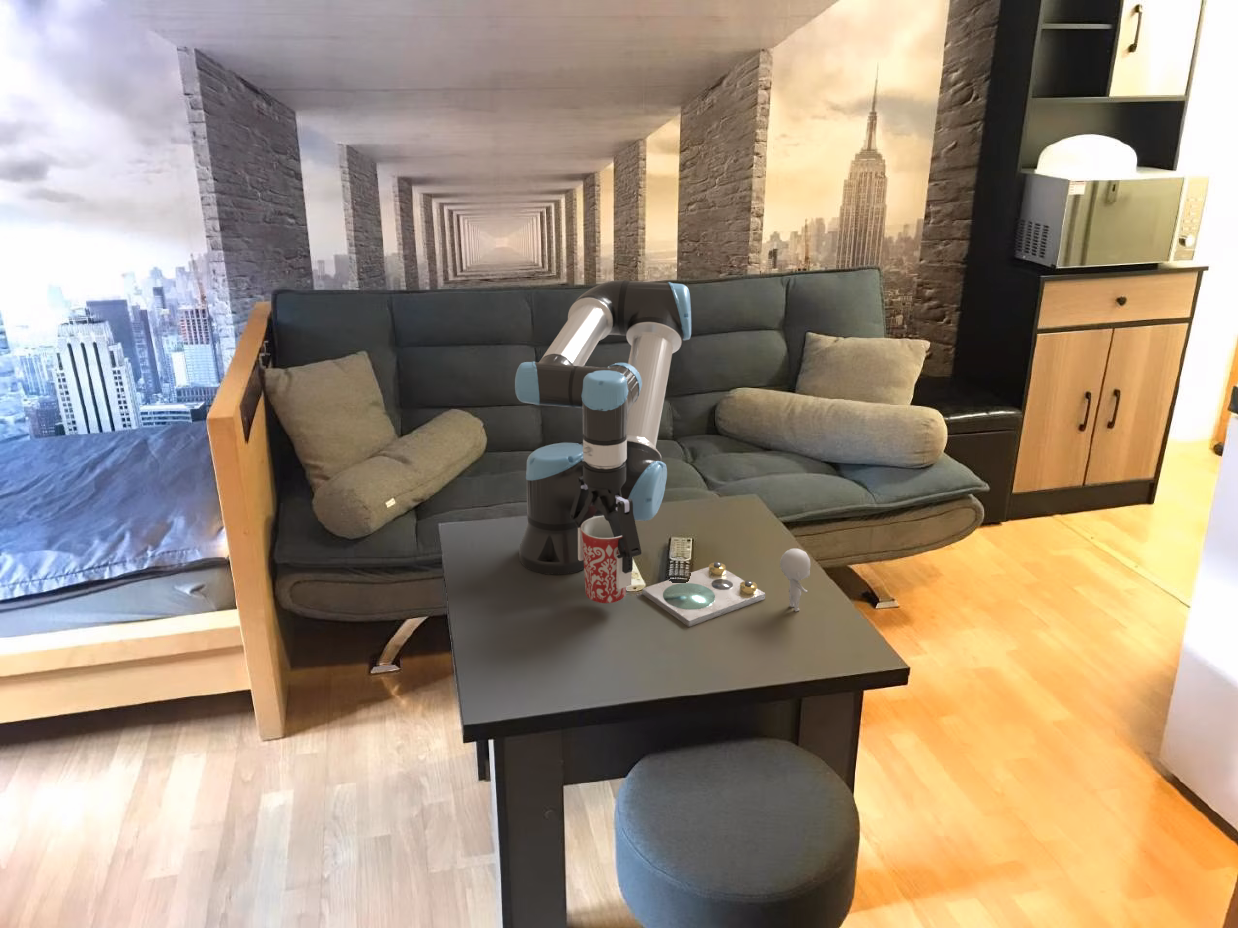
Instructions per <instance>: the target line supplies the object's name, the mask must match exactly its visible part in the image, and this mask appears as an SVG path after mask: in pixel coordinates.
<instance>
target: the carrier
mask: <svg viewBox="0 0 1238 928" xmlns="http://www.w3.org/2000/svg"><path fill="white" fill-rule="evenodd" d="M726 567H727V566H726V564H724V563H722V562H720V561H714V562H711V563H709V565H708V567H707V566H706V567H703V568H701V569H698V570H695V571H692V572H690V573H691V576H690V579H689V581H688V582H686V583H672V582H671V581H669V580H670V579H667V580H665V581H660V582H657V583H655V584H652V585H648V586H646V587H643V588H642V591H641V592H642V593H641V594H642V595H643V596H645V598H647V599H648V600H649V601H651V602H653V603H654V604H655V605H657V606H659V607H660V608H661V609H662V610H664V611H666V612H667V613H668V614H669V615H671V616H672V617H674V618H675V619H678V621H680V623H681V622H682V623H683V624H684V625H686V627H688V628H690V627H693V626H695V625H697V624H701V623H703V622H706V621H710V620H712V619H715V618H717V617H720V616H723V615H724V614H728V613H731V612H733V611H736V610H738V609H741V608H744V607H747V606H750V605H753V604H756V603H758V602H760V601H764V600H765V599H766V592H763V591H762V590H761V589H759V588H758V584H757V583H756V582H754V581H752V580H744V579H743V578H740V577H739V576H737V575H736V574H734V573H732V572H730V571H729V570H727V569H726Z"/></svg>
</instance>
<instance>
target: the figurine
mask: <svg viewBox="0 0 1238 928" xmlns="http://www.w3.org/2000/svg"><path fill="white" fill-rule="evenodd" d="M779 565H780V566H779V567H780V570H781V571H782V573H783V575H784V576H785V578H786V579H788V580H789V581H788V582H789V589H788V593H789V594H788V595H789V604H788V605H789V607H790V608H793V610H794V612H799V611H800V608H799V604H800V600H801V599H800V598H801V595H802V592H803V593H805V594H807V593H808V590H807V589H805V588H804V587H803V586H802V584H801V582H800V581H801V580H804V579H807V578H809V577H810V575H811V571H810V570H811V559H810V556H809V555H808V554H807V552H806V551H804V550H803V549H800V548H793V547H792V548H790V549H788V550H786V551H785V552H784V553H783V554H782V555H781V558H780V561H779Z"/></svg>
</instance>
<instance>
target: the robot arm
mask: <svg viewBox="0 0 1238 928" xmlns="http://www.w3.org/2000/svg"><path fill="white" fill-rule="evenodd" d="M609 335H611V336H613V335H614V336H626V341H627V342H628V344H629V345H630V346H631V347H630V352H629V358H628V362H616V363H614V364H613V363H612V364H610V365H609V366H607V367H602V366H601V367H599V366H586V363H587V361H588V359H589V358H590V356H591V355H592V353H593V351H594V350H595V348H596V347H597V345H598V343H599V341H601V340H603V339H605V338H607V336H609ZM691 336H692V307H691V294H690V290H689V287H688V286H686V285H685V284H683V283H675V282H674V283H673V282H671V281H668V282H654V281H653V282H652V281H641V280H640V281H638V280H625V279H618V280H617V279H616V280H615V279H614V280H610V281H606V282H603V283H601V284H597V285H596V286H593V287H592V288H590V289H589V290H586V291H585V292H584V293H582V294H581V295H579V297H577V299H576V300H575V301H574V302H573V303H572V305H571V306H570V307H569V310H568V314H567V321H566V322H565V324H564V325H563V326H562V328H561V329H560V330H559V333H558V334H557V336H556V337H555V338H554V340H553V341H552V343H551V344H550V346H549V347H548V348H547V350H546V352H545V353H544V354H543V356H542V358H541V359H540V360H539V362H537V361H535V360H534V361H526V362H525V361H524V362H521V363H520V364H519V366H518V367H517V369H516V373H515V378H514V390H515V391H514V392H515V395H516V398H517V399H518V401H519V402H521V403H522V404H523V403H525V404H531V405H532V404H533V405H536V406H550V407H551V406H553V407H566V408H576V409H582V444H580V443H577V442H559V443H557V442H556V443H553V444H548V445H547V444H546V445H545V446H541V447H539V448H537V449H535V450H534V451H532V452H531V453H530V454H529V455H528V457H527V460H526V472H525V473H526V474H525V479H526V480H525V482H526V486H525V487H526V511H527V512H526V513H527V523H526V527H525V529H524V532H523V535H522V538H521V542H520V544H519V549H518V552H519V557H518V559H519V562H520V563H521V564H522V566H523V567H525V568H527V569H528V570H530V571H532V572H535V573H538V574H545V575H567V574H573V573H577V572H580V571H584V557H583V542H582V531H581V525H582V523H583V522H584V521H586V520H587V519H589V518H593V517H597V516H604V517H605V519H606V520H607V521H609V524H610V527H611V530H612V533H613V535H614V537H619V536H622V538H621V539H618V550H619V553H620V554H617V575H616V588H618V589H621V588H624V587H626V588H627V587H630V586H632V577H633V576H632V572H633V566H634V565H633V564H634V562H633V561H634V557H636V556H640V555H641V554H642V548H641V542H640V540H639V539H640V538H639V534H638V530H637V529H638V528H637V526H636V525H637V524H636V521H639V522H640V521H642V522H645V521H646V522H647V521H650V520H652V519H653V518H654V517H655V516H656V515H657V513H658V512H659V510H660V507H661V505H662V502H663V498H664V495H665V491H666V490H665V489H666V483H667V479H668V469H667V464H666V463H665V462H663V461H662V455H661V453H660V451H658V449H657V447H656V446H657V441H658V436H659V430H660V424H661V418H662V414H663V413H662V412H663V407H664V402H665V397H666V390H667V385H668V379H669V374H670V368H671V362H672V357H673V354H674V353H676V352H677V351H679V350H680V348H681V346H682V343H683V341H688V340H690V339H691ZM624 548H625V549H624Z"/></svg>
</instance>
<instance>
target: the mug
mask: <svg viewBox="0 0 1238 928" xmlns="http://www.w3.org/2000/svg"><path fill="white" fill-rule="evenodd" d="M581 531H582V542H583V557H584V569H583V572H584V587H585V589H584V590H585V595H586V597H587V598H588V599H589V600H591V601H593V602H595V603H599V604H600V603H601V604H612V603H616V602H620V601H621V600H622V599H624V597H625V596H626V593H627V587H624V588H621V589H618V588H616V575H617V554H620V553H619V550H618V539H621V538H622V536H619V537H614V535H613V533H612V530H611V527H610V524H609V521H607V520H606V519H605V517H604V516H593V518H589V519H587V520H586V521H584V522H583V523H582V525H581ZM624 549H625V548H624Z"/></svg>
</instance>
